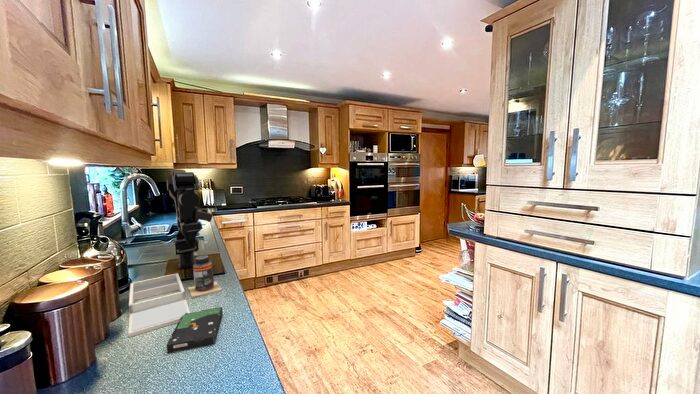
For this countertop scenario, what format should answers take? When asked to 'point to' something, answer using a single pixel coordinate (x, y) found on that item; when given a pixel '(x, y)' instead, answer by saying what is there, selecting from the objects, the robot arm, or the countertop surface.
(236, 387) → the countertop surface
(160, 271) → the countertop surface
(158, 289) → the equipment case
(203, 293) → the cork mat
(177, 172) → the robot arm
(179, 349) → the disk drive
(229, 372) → the countertop surface
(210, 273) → the supplement bottle
